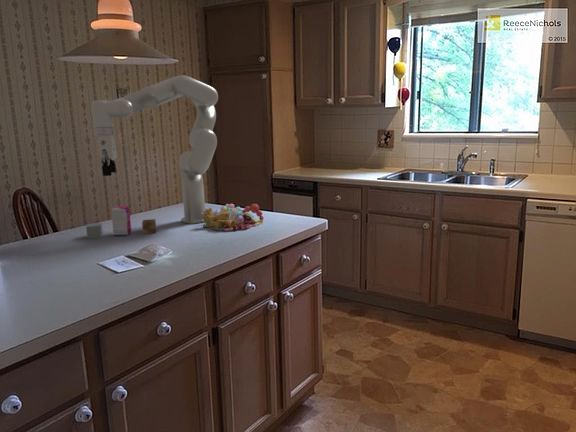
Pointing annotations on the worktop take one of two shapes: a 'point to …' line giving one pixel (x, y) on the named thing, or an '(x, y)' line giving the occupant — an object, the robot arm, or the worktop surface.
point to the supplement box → (121, 221)
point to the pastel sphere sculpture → (232, 217)
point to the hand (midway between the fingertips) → (109, 173)
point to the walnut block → (149, 226)
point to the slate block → (94, 230)
